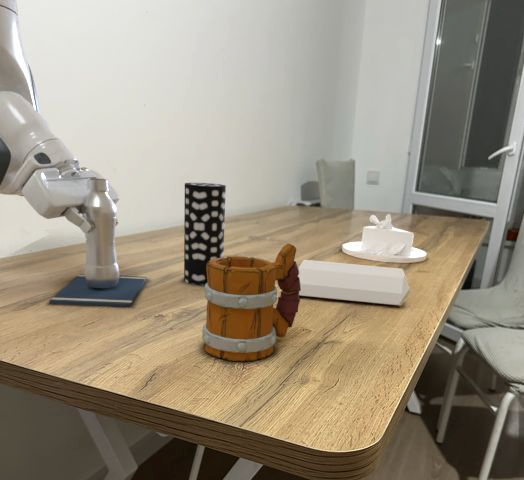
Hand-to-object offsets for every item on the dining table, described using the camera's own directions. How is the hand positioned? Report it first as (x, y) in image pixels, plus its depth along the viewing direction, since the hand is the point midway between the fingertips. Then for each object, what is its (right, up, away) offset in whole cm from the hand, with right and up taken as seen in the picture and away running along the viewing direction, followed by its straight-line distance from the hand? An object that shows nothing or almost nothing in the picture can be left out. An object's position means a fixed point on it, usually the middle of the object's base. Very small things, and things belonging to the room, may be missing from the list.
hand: (102, 228), depth 96 cm
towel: (-1, -11, +5) cm, 12 cm away
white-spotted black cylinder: (+17, -8, +16) cm, 25 cm away
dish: (+66, +6, +59) cm, 89 cm away
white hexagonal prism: (+47, -12, +10) cm, 50 cm away
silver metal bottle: (-1, -11, +4) cm, 12 cm away
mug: (+28, -22, -18) cm, 40 cm away
